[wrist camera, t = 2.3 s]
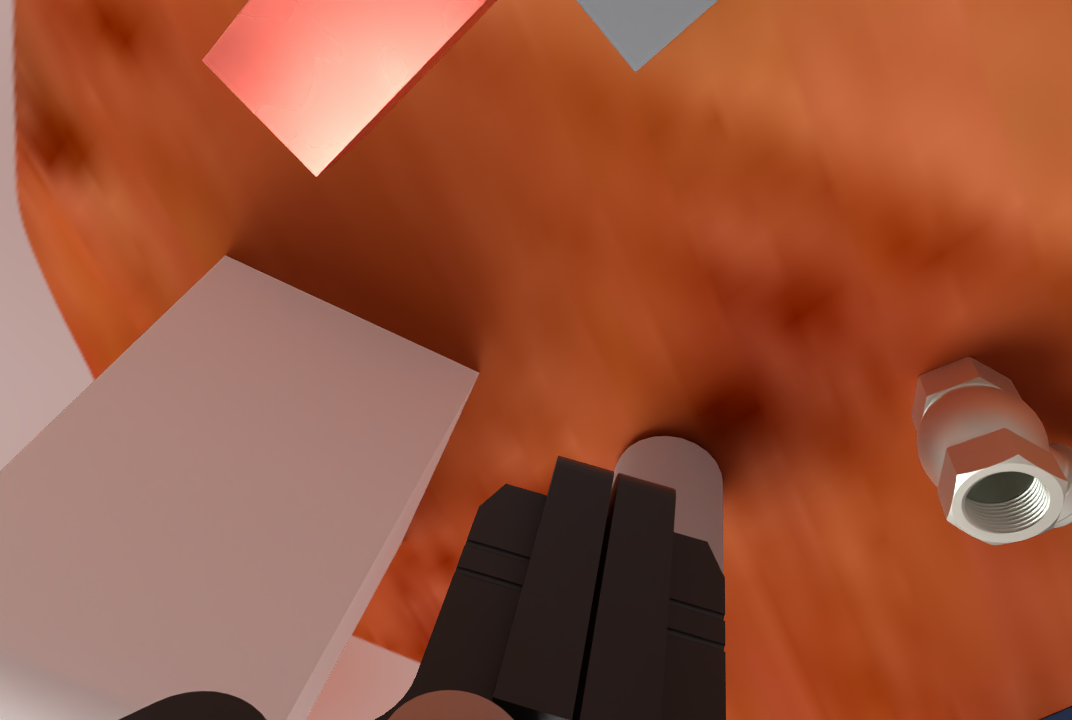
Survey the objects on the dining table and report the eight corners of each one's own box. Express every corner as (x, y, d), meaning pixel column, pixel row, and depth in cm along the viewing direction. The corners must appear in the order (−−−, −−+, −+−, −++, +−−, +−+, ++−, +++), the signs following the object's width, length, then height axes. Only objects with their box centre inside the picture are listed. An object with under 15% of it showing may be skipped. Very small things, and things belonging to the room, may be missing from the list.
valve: (860, 429, 35) (1100, 560, 36) (886, 537, 29) (1170, 689, 30) (973, 307, 31) (1236, 455, 32) (1027, 403, 26) (1344, 579, 27)
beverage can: (746, 478, 37) (755, 711, 27) (666, 531, 39) (647, 765, 29) (668, 408, 36) (647, 624, 26) (591, 468, 38) (544, 687, 28)
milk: (479, 372, 37) (119, 1130, 15) (401, 542, 43) (63, 1258, 21) (225, 255, 36) (-544, 861, 14) (182, 444, 42) (-402, 1073, 20)
